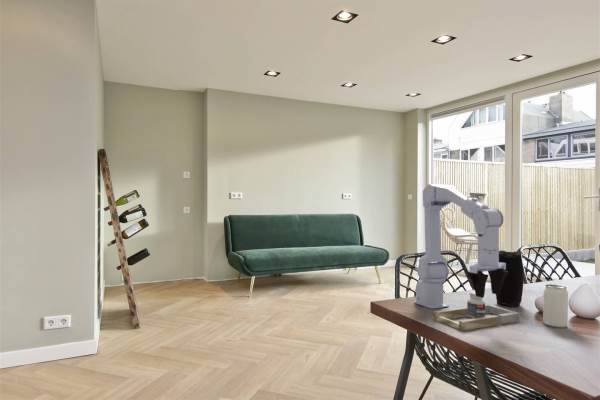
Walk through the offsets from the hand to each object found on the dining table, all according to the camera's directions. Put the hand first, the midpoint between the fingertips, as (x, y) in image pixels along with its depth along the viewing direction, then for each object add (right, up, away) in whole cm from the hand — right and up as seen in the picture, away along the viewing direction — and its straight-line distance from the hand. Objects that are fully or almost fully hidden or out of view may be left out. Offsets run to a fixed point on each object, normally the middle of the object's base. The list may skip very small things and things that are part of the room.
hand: (488, 295), depth 121 cm
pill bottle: (+1, -11, +10) cm, 14 cm away
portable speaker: (+21, -11, +29) cm, 37 cm away
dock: (+9, -10, +14) cm, 19 cm away
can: (+24, -11, +6) cm, 27 cm away
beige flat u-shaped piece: (-3, -10, +8) cm, 13 cm away
